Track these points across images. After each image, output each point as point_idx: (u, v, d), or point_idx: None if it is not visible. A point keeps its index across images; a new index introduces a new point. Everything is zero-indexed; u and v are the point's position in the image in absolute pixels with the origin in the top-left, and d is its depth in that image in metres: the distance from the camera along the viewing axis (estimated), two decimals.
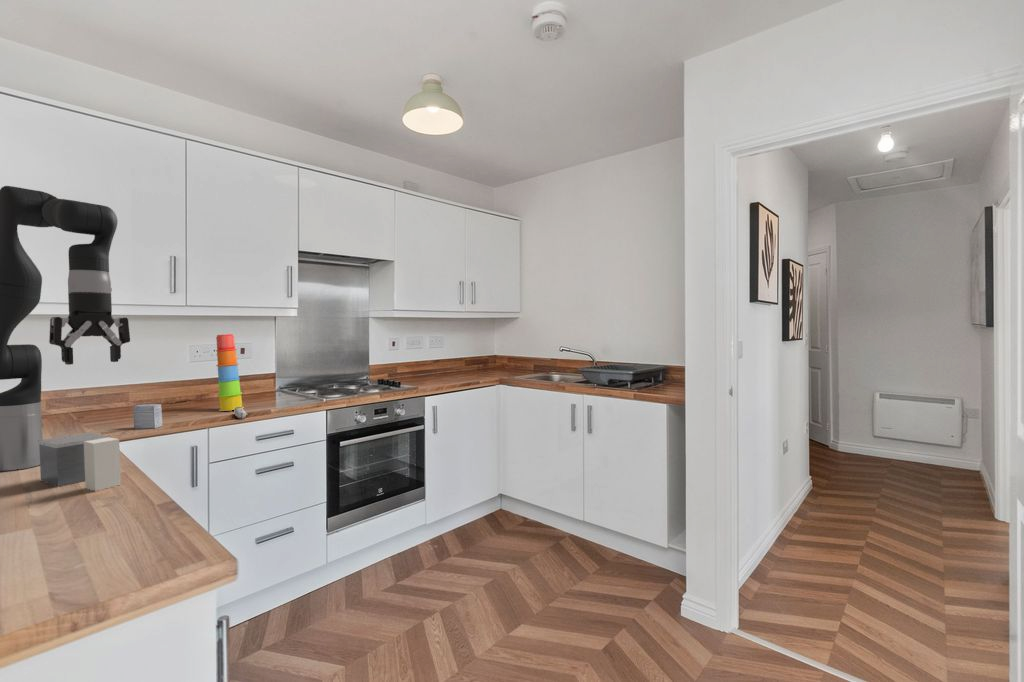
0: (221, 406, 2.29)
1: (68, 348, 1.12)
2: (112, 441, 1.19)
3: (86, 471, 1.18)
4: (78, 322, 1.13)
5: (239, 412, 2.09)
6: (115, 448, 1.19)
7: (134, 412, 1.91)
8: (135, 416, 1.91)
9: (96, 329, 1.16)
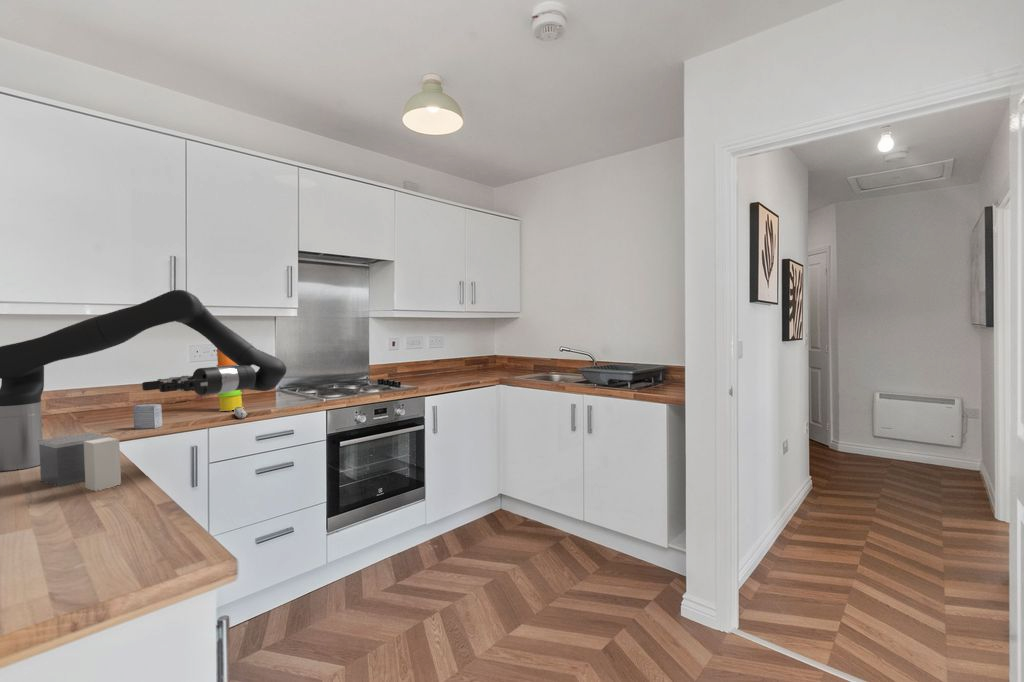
0: (221, 406, 2.29)
1: (176, 389, 1.29)
2: (112, 441, 1.19)
3: (86, 471, 1.18)
4: None
5: (239, 412, 2.09)
6: (115, 448, 1.19)
7: (134, 412, 1.91)
8: (135, 416, 1.91)
9: None
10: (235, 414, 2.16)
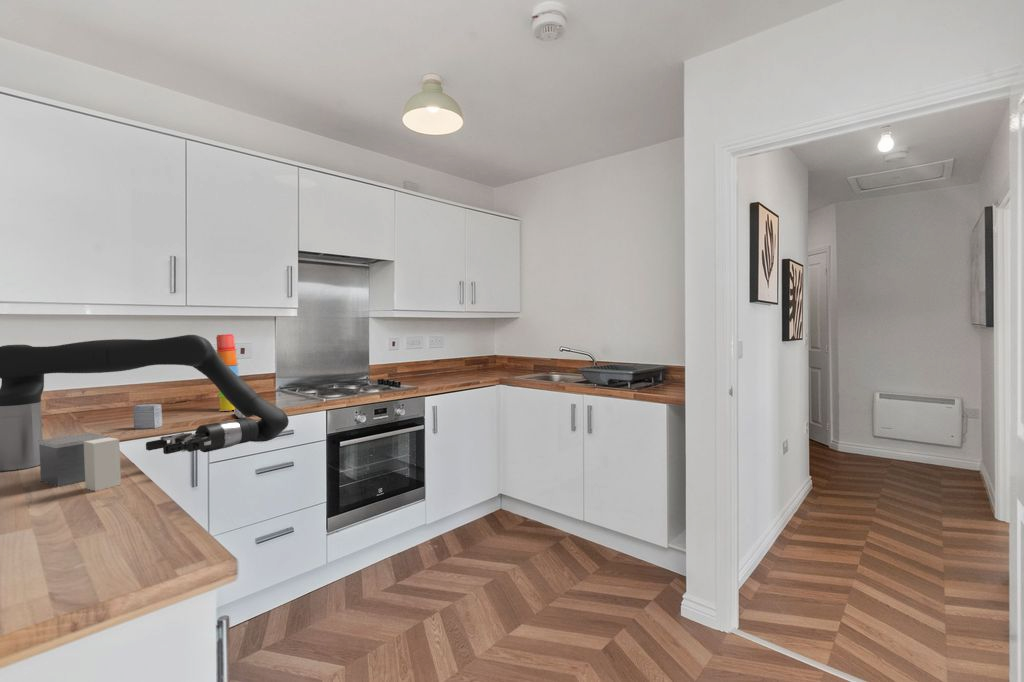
0: (221, 406, 2.29)
1: (179, 449, 1.30)
2: (112, 441, 1.19)
3: (86, 471, 1.18)
4: None
5: (240, 412, 2.09)
6: (115, 448, 1.19)
7: (134, 412, 1.91)
8: (135, 416, 1.91)
9: None
10: (235, 414, 2.16)
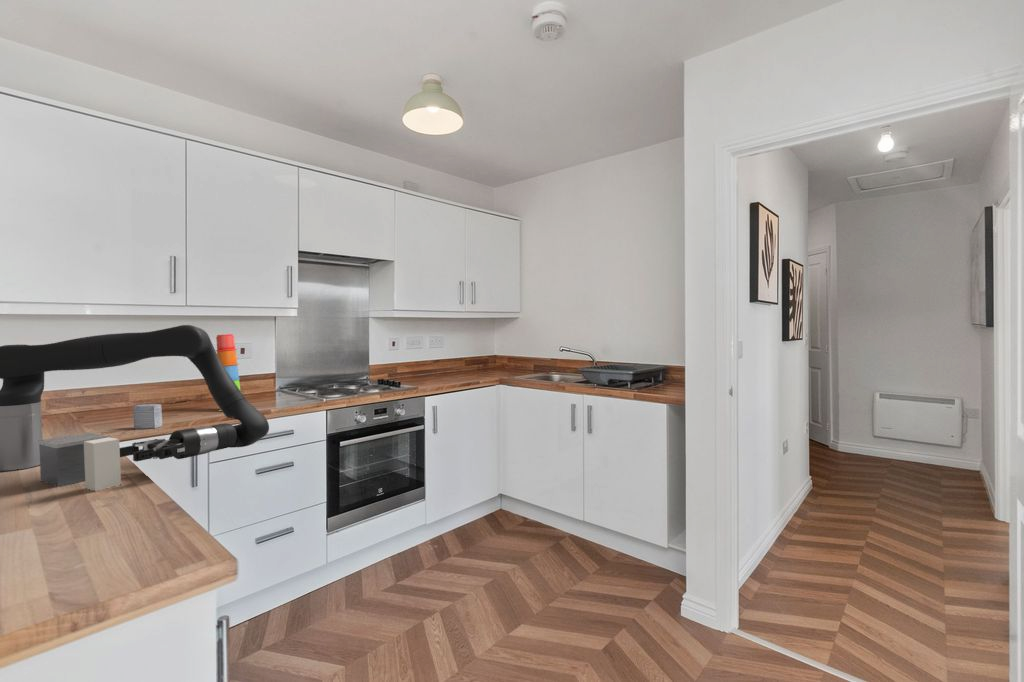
0: None
1: (151, 456, 1.24)
2: (112, 441, 1.19)
3: (86, 471, 1.18)
4: None
5: None
6: (115, 448, 1.19)
7: (134, 412, 1.91)
8: (135, 416, 1.91)
9: None
10: None
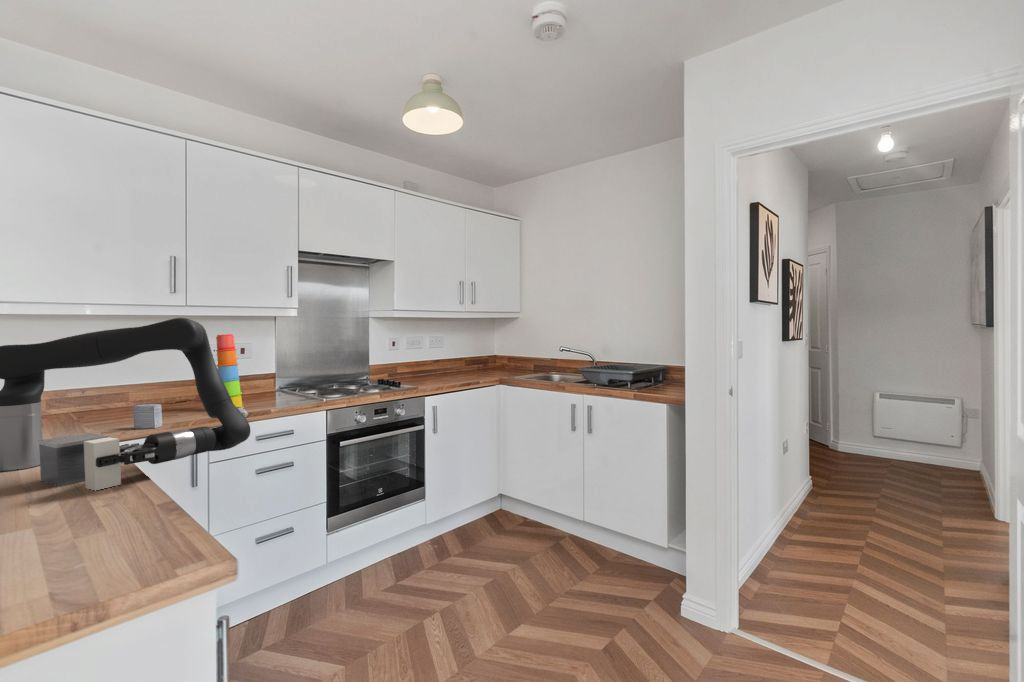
0: None
1: None
2: (112, 441, 1.19)
3: (86, 471, 1.18)
4: None
5: (241, 412, 2.10)
6: (115, 448, 1.19)
7: (134, 412, 1.91)
8: (135, 416, 1.91)
9: None
10: None
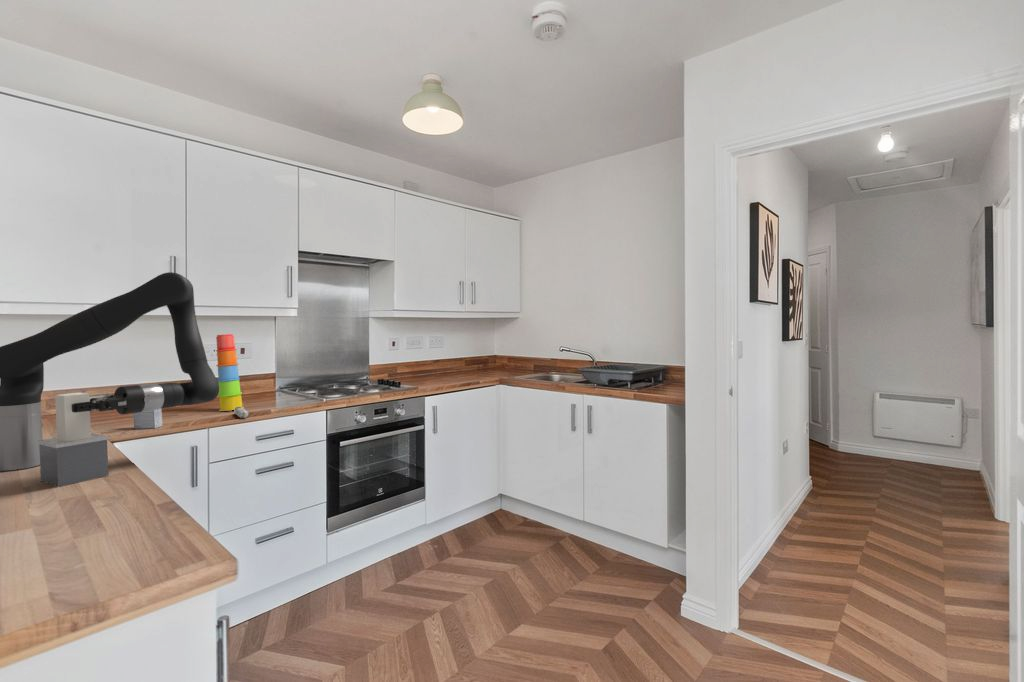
0: (221, 406, 2.29)
1: (90, 409, 1.26)
2: (82, 395, 1.26)
3: (57, 423, 1.25)
4: None
5: (241, 412, 2.10)
6: (85, 401, 1.27)
7: None
8: (135, 416, 1.91)
9: None
10: (236, 414, 2.17)
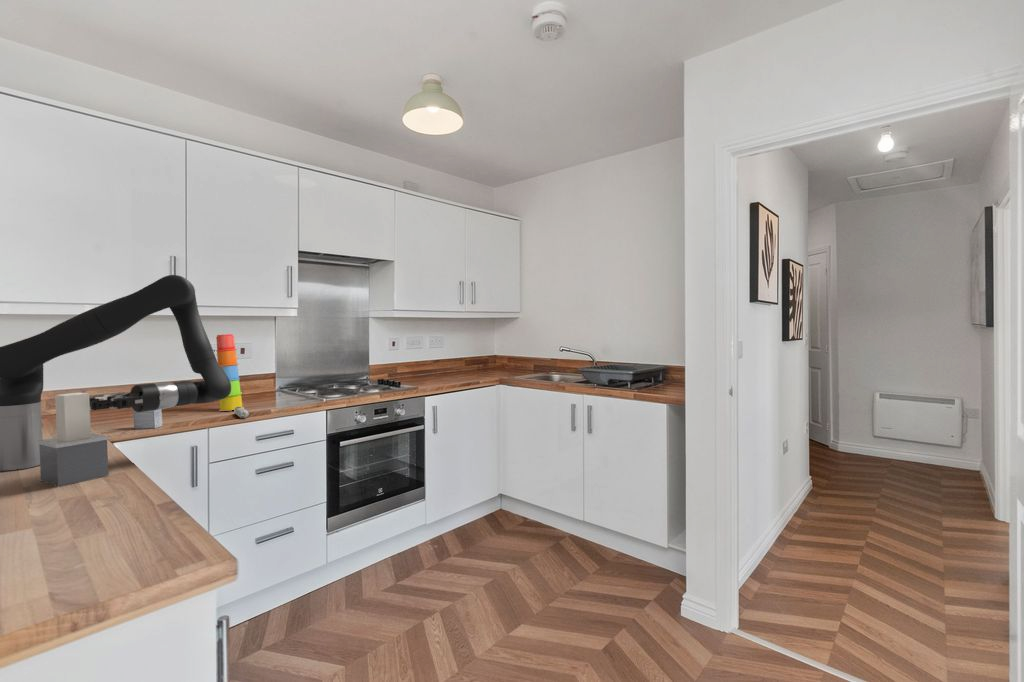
0: (221, 406, 2.29)
1: (108, 406, 1.29)
2: (82, 395, 1.26)
3: (57, 423, 1.25)
4: None
5: (241, 412, 2.10)
6: (85, 401, 1.27)
7: (134, 412, 1.91)
8: (135, 416, 1.91)
9: None
10: (236, 414, 2.17)
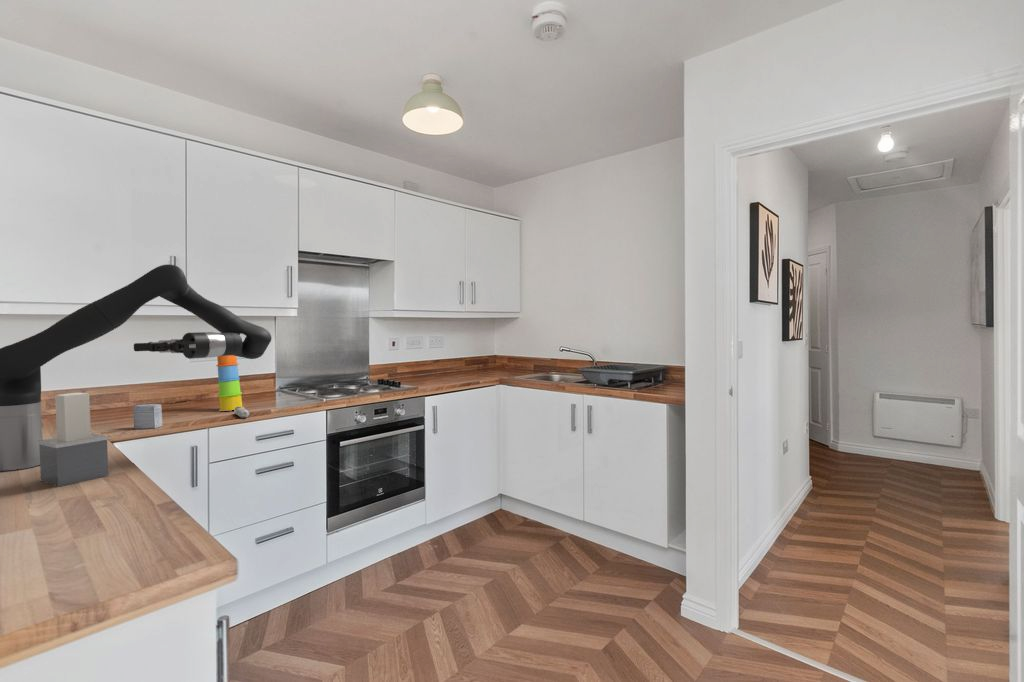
0: (221, 406, 2.29)
1: (165, 349, 1.37)
2: (82, 395, 1.26)
3: (57, 423, 1.25)
4: None
5: (242, 411, 2.10)
6: (85, 401, 1.27)
7: (134, 412, 1.91)
8: (135, 416, 1.91)
9: None
10: (236, 414, 2.17)
